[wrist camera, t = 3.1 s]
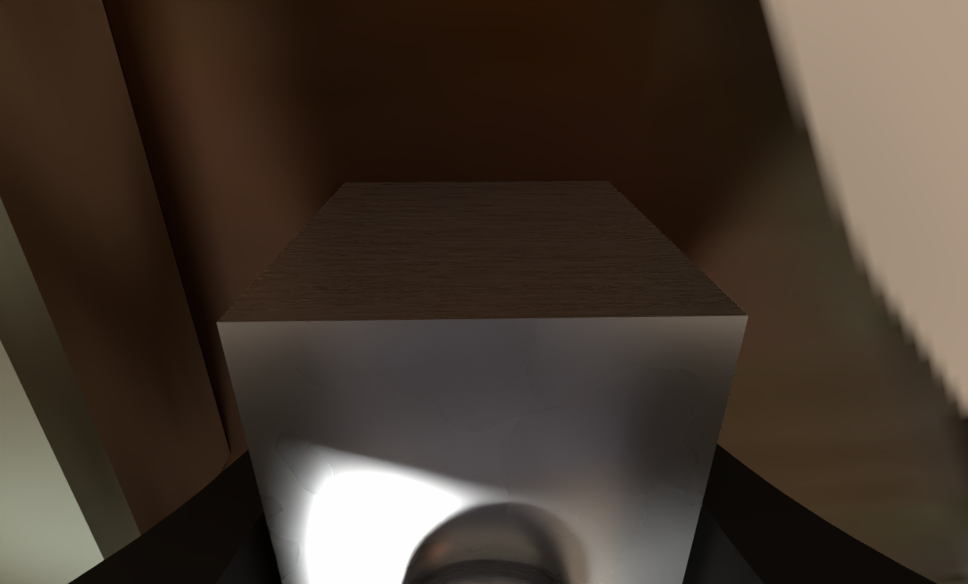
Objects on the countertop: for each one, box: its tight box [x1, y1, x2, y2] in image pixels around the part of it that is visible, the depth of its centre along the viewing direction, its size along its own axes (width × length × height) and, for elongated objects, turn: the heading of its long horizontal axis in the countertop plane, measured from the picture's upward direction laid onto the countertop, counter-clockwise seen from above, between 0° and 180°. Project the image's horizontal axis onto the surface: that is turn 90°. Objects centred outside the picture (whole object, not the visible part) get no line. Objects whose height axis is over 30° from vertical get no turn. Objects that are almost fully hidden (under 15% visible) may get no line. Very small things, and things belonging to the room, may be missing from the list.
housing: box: [216, 181, 748, 584], centre depth 9 cm, size 9×5×6 cm, turn 0°
